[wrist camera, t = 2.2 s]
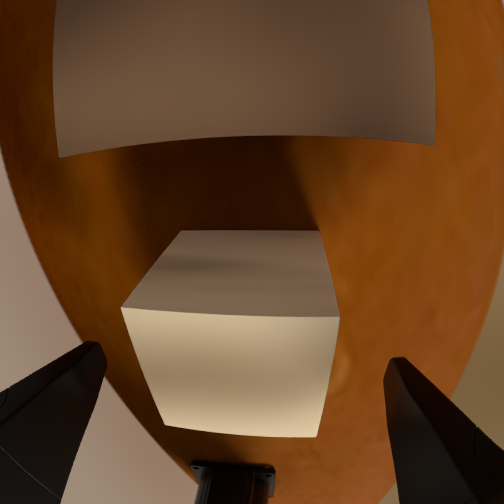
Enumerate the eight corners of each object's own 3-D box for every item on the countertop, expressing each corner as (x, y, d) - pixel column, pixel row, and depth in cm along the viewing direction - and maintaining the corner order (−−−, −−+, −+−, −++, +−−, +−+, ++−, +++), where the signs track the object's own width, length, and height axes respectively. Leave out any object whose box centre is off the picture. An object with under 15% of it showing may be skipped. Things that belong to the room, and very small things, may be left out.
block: (311, 338, 13) (316, 436, 8) (197, 334, 13) (165, 424, 9) (319, 229, 11) (340, 316, 6) (181, 229, 11) (120, 307, 7)
